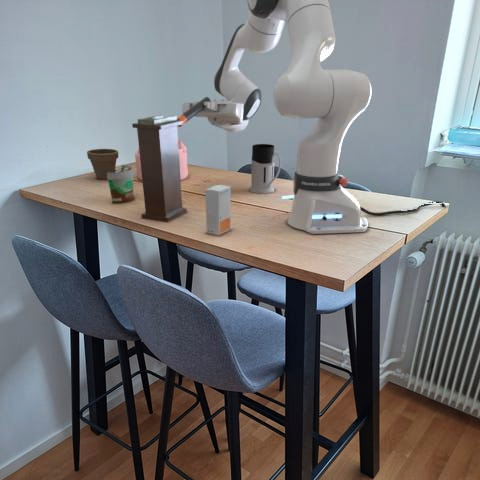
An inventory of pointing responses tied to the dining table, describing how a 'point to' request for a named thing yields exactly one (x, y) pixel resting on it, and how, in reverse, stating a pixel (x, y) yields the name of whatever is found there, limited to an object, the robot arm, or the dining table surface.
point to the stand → (160, 167)
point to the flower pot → (103, 161)
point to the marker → (193, 111)
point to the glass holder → (263, 168)
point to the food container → (121, 184)
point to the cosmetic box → (218, 209)
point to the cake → (181, 159)
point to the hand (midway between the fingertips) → (200, 104)
